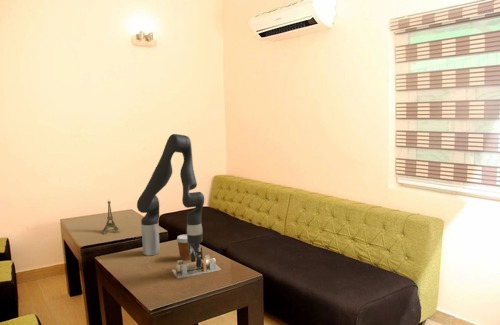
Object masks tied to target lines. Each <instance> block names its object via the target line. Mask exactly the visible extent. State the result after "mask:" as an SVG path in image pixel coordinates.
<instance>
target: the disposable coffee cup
mask: <svg viewBox="0 0 500 325" xmlns="http://www.w3.org/2000/svg"><path fill="white" fill-rule="evenodd" d="M176 241H177V245H178V251H179V258H180V259H179V260H183V261H188V260H190V261H191V254H190V252H189V243H188V242H187V233H186V234H180V235H177V238H176Z"/></svg>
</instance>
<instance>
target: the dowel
mask: <svg viewBox="0 0 500 325" xmlns="http://www.w3.org/2000/svg"><path fill="white" fill-rule="evenodd" d="M211 259H214V264H215V265H217V260H216V258H215V257H213V258H211ZM208 260H209V259H207V260H206V267H208V266H209V263H208ZM185 264H186V265H187V271H188V270H193V269H198V268H203V259H201V267H198V268H197V267H196V261H195V262H191V261H190V262H187V263H185ZM181 265H182V264H180V265H178V264H175V267H174V268H175V270H176V273H178V272H181Z"/></svg>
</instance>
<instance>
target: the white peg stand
mask: <svg viewBox="0 0 500 325" xmlns="http://www.w3.org/2000/svg"><path fill="white" fill-rule="evenodd" d="M207 259H209V260H208V263H209V266H208V267H206V260H207ZM202 260H203V268H198V269H193V270H188V271H187V265H186V263H184V260H181V259H179V260H177V261H176V262H177V264H176V265H180V264H182V265H181V272H178V273H176V270H175V269H171V272H172V274H173V275H174V276H175V278H176V279H177V280H178V279H182V278H188V277H193V276H199V275H203V274H207V273H213V272H218V271H221V270H222V268H221V267H220V266H219V265H217V264H216V265H215V264H214V259H212V258H211V255H210V254H206V255H204V256H203V259H202Z"/></svg>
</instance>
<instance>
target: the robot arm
mask: <svg viewBox="0 0 500 325" xmlns="http://www.w3.org/2000/svg"><path fill="white" fill-rule="evenodd" d="M166 140H167V141H166V143H165V146H164V148H163V151H162V153H161V157H160V159H159V160H158V163H157V165H156V166H155V169H154V171H153V172H152V175H151V177H150V179H149V181H148V183H147V184H146V187H144V190H143V191H142V193H140V196H139V197H138V200H137V203H136V208H137V211H139V212H140V213H142V214H145V215H144V216H143V217H142V218H141V220H140V221H141V222H140V223H141V224H140V225H141V237H142V238H141V240H142V254H143V255H144V256H155V255H158V254H160V252H161V250H160V249H161V248H160V247H161V246H160V231H159V219H160V200H159V198H158V196H157V194H158V193H159V192H160V191H161V190H162V189H163V188H164V187H165V186H166V185H167V184H168V183H169V181H170V179H171V177H172V175H173V165H172V158H173V156H174V154H175V153H180V154H182V157H183V162H182V165H181V168H180V174H179V175H180V180H181V184H182V205H183V206H184V208H187V209H189V208H194V209H193V210H191V211H189V212H187V214H186V234H187V242H188V243H189V252H190V254H191V259H190V263H191V262H196V267H197V268H198V267H201V260H203V259H204V256H203V247H202V246H201V245H200V244H201V243H202V242H203V226H202V225H203V224H202V223H203V222H202V212H203V208H204V203H205V196H204V194H203V193H202V192H201V191H196V192H191V191H192V190H194V189H196V188H197V186H198V182H197V179H196V176H195V170H194V165H193V164H194V163H193V162H194V161H193V151H192V150H193V149H192V142H191V139H190V137H189V136H187V135H184V134H177V133H172V134H171V135H169V137H168V139H166Z"/></svg>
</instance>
